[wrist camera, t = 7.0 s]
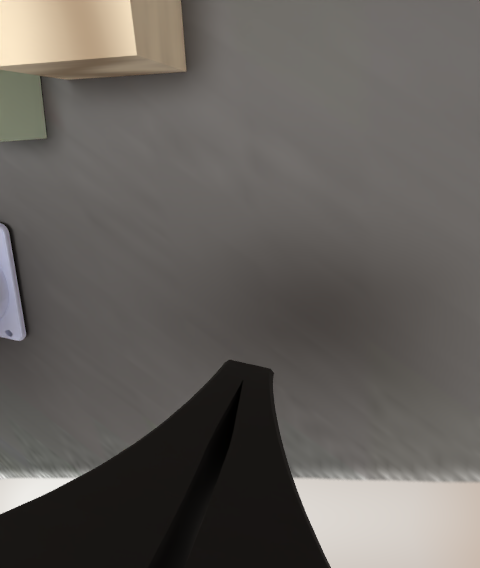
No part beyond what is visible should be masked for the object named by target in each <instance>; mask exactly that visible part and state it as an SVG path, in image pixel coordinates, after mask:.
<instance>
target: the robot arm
mask: <svg viewBox="0 0 480 568" xmlns="http://www.w3.org/2000/svg"><path fill="white" fill-rule="evenodd" d="M0 337H3V338H7V339H12V340H16V341H21V340H23V339H24V338H25V337H26V330H25V324H24V318H23V312H22V306H21V300H20V294H19V288H18V282H17V276H16V270H15V264H14V258H13V252H12V246H11V240H10V235H9V231H8V229H7V227H6V226H5V225H4V224H1V223H0ZM273 374H274V373H273V371H272V370H271V369H269V368H264V367H260V366H255V365H251V364H246V363H242V362H237V361H233V360H228V361H227V362H225V363H224V364H223V366H222V367H221V368H220V369H219V370H218V372H217V373H216V374H215V375H214V376H213V377H212V378H211V379H210V380H209V381H208V382H207V383H206V384H205V385H204V386H203V387H202V388H201V389H200V390H199V391H198V392H197V393H196V394H195V395H194V396H193V397H192V398H191V399H190V400H189V401H188V402H187V403H186V404H184V405H183V406H182V407H181V408H180V409H179V410H177V411H176V412H175V413H174V414H173V415H171V416H170V417H169V418H168V419H167V420H165V421H164V422H163V423H162V424H160V425H159V426H158V427H157V428H155V429H154V430H153V431H151V432H150V433H149V434H147V435H146V436H144V437H143V438H142V439H140V440H139V441H137V442H136V443H135V444H133V445H132V446H130V447H129V448H127V449H125V450H124V451H122V452H121V453H119V454H118V455H116V456H114V457H113V458H111V459H110V460H108V461H106V462H105V463H103V464H101V465H100V466H98V467H96V468H95V469H93V470H91V471H89V472H87V473H85V474H83V475H82V476H80V477H78V478H76V479H74V480H72V481H70V482H69V483H67V484H65V485H63V486H61V487H59V488H57V489H55V490H53V491H51V492H49V493H47V494H45V495H43V496H41V497H39V498H36V499H34V500H32V501H30V502H27V503H25V504H23V505H21V506H18V507H16V508H14V509H11V510H9V511H7V512H5V513H3V514H0V568H331V567H330V565H329V563H328V561H327V559H326V557H325V555H324V553H323V550H322V548H321V546H320V544H319V542H318V539H317V537H316V535H315V533H314V530H313V528H312V526H311V524H310V521H309V519H308V517H307V515H306V512H305V510H304V507H303V505H302V502H301V499H300V497H299V494H298V492H297V489H296V486H295V483H294V480H293V477H292V474H291V471H290V468H289V465H288V462H287V458H286V455H285V451H284V448H283V444H282V440H281V436H280V432H279V427H278V422H277V417H276V411H275V405H274V396H273Z"/></svg>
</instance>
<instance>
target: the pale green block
mask: <svg viewBox="0 0 480 568" xmlns="http://www.w3.org/2000/svg"><path fill="white" fill-rule="evenodd" d="M46 138H47V135H46V126H45V117H44V108H43V99H42V90H41V80H40V76H39V75H32V74H25V73H19V72H12V71H5V70H0V142H5V141H19V140H32V139H46Z"/></svg>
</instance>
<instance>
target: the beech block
mask: <svg viewBox="0 0 480 568" xmlns="http://www.w3.org/2000/svg"><path fill="white" fill-rule="evenodd" d="M0 70H5V71H12V72H19V73H25V74H32V75H39V76H45V77H52V78H59V79H66V80H72V79H87V78H101V77H116V76H131V75H145V74H160V73H174V72H187V70H186V58H185V46H184V33H183V21H182V8H181V0H0Z"/></svg>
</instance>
